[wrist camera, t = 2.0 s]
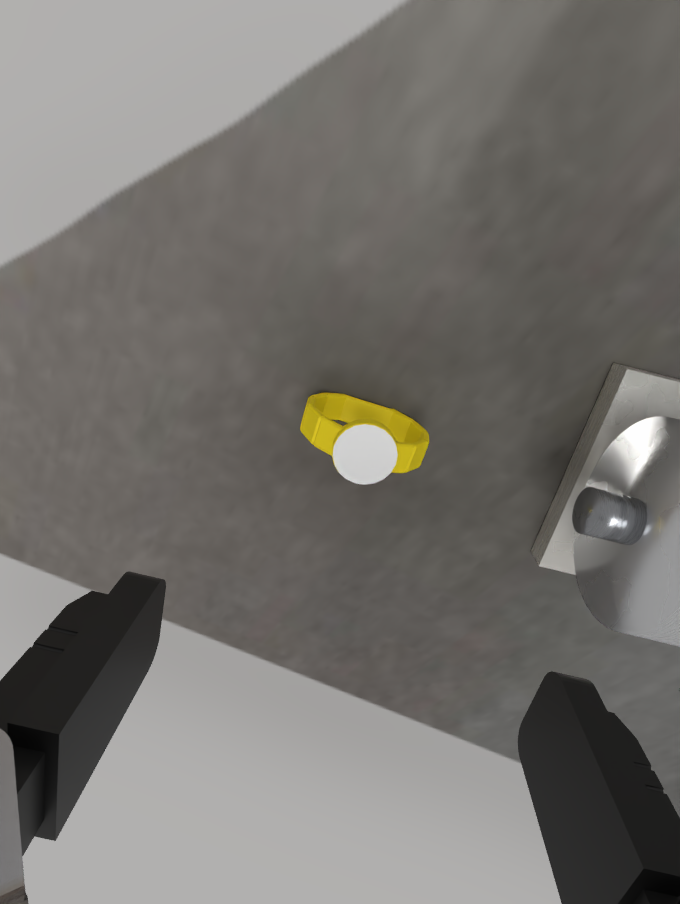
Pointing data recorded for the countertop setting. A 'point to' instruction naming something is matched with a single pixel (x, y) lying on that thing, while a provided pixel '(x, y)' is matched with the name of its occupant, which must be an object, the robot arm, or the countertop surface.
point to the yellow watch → (363, 437)
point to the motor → (623, 508)
